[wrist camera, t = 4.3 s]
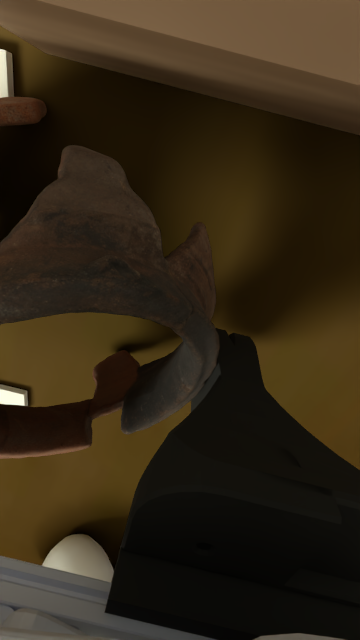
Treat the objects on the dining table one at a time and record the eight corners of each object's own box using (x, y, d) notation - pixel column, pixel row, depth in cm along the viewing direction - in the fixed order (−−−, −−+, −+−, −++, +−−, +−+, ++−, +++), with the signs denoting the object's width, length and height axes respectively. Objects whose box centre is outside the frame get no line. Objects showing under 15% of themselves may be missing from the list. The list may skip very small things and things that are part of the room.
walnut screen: (418, 150, 9) (589, 145, 5) (46, 53, 8) (-101, -37, 4) (445, 100, 8) (665, 47, 4) (46, -6, 8) (-123, -166, 4)
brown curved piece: (117, 14, 8) (233, 98, 3) (190, 261, 16) (259, 404, 11) (-276, 178, 8) (-753, 502, 3) (-20, 344, 16) (-50, 523, 11)
